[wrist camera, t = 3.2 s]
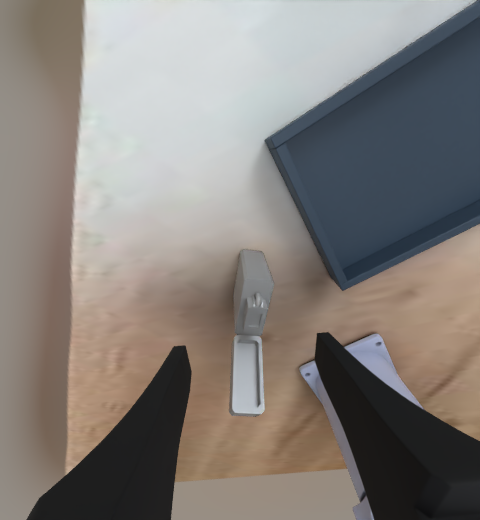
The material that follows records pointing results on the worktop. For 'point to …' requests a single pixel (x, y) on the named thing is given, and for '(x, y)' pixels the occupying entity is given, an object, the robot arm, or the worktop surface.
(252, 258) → the lighter
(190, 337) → the worktop surface
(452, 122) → the tray
